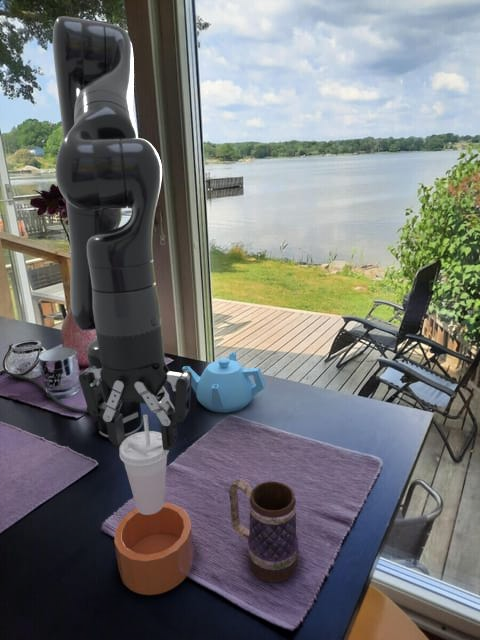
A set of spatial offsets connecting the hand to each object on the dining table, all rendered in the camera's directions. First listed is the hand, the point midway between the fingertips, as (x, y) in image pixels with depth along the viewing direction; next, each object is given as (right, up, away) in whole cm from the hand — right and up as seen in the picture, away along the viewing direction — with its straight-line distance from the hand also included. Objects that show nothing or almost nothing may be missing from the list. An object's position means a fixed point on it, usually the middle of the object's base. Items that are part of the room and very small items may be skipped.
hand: (143, 444), depth 57 cm
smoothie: (0, -9, +3) cm, 10 cm away
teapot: (+9, -4, +50) cm, 51 cm away
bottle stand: (+1, -19, +6) cm, 20 cm away
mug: (+16, -18, +7) cm, 25 cm away
